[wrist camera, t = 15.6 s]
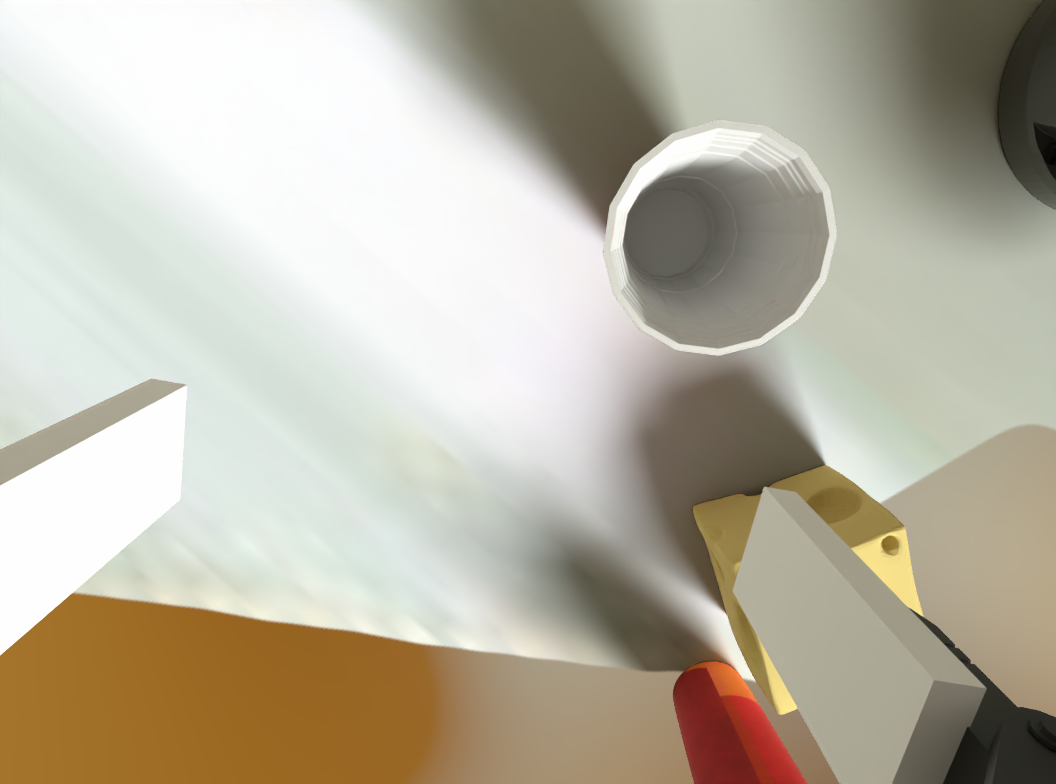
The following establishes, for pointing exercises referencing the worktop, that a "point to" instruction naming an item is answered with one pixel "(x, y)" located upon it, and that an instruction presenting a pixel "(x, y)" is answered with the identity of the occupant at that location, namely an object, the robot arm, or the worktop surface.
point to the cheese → (844, 513)
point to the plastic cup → (719, 237)
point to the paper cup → (728, 730)
